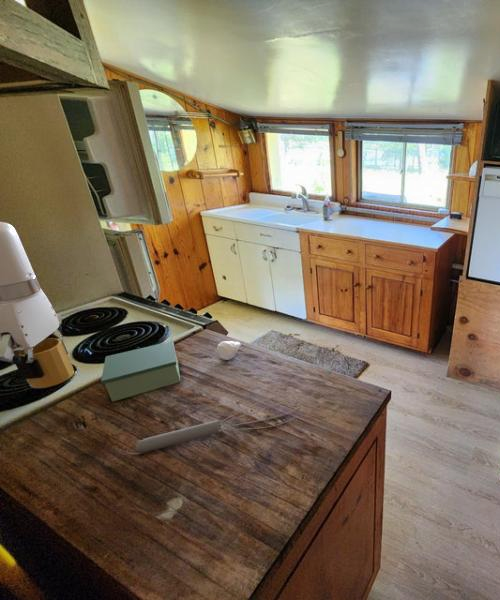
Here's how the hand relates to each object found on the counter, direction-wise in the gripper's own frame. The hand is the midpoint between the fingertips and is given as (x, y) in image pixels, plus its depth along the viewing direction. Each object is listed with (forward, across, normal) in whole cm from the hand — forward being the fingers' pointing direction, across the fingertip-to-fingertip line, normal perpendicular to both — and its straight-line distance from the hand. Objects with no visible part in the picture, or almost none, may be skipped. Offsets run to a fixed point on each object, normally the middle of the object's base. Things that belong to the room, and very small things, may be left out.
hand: (47, 365), depth 69 cm
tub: (+13, -10, +12) cm, 20 cm away
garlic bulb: (+13, -18, +31) cm, 38 cm away
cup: (+3, 0, 0) cm, 3 cm away
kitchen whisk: (+13, +14, +35) cm, 40 cm away
